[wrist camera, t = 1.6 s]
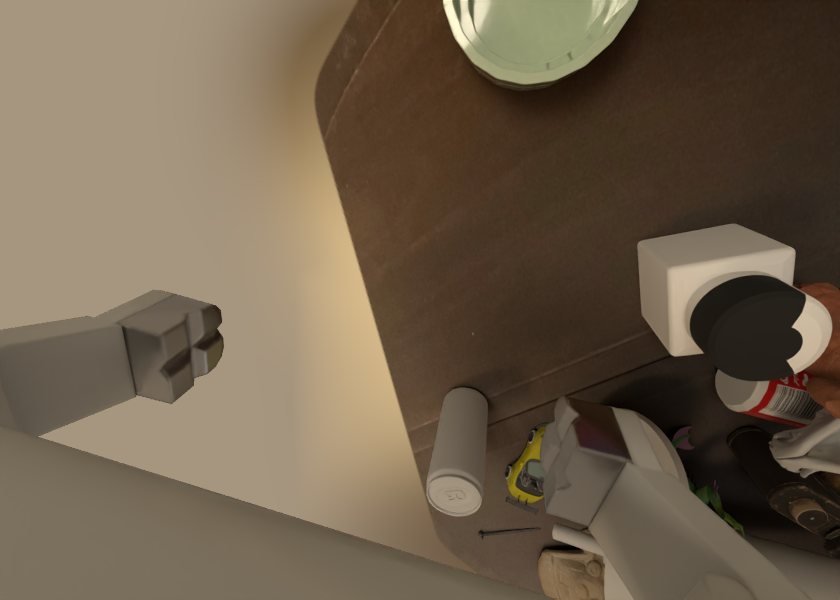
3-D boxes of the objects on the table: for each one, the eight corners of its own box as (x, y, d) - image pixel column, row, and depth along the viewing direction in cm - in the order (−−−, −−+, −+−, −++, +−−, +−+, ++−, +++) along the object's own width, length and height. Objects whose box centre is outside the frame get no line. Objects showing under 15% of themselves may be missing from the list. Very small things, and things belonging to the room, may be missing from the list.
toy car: (582, 436, 41) (587, 456, 38) (539, 496, 45) (541, 519, 42) (537, 417, 41) (540, 436, 38) (499, 479, 45) (498, 500, 42)
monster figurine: (686, 588, 28) (781, 574, 31) (679, 419, 30) (769, 421, 33) (574, 520, 39) (652, 514, 42) (574, 400, 41) (648, 403, 44)
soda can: (705, 370, 36) (841, 404, 35) (724, 422, 32) (878, 462, 31) (746, 332, 32) (901, 369, 31) (774, 386, 28) (952, 430, 27)
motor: (566, 537, 48) (543, 608, 39) (563, 463, 46) (539, 521, 38) (958, 671, 31) (1063, 843, 23) (979, 564, 29) (1102, 708, 21)
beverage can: (437, 389, 42) (415, 479, 31) (479, 379, 40) (471, 471, 30) (453, 422, 44) (437, 520, 33) (494, 415, 42) (491, 514, 31)
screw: (477, 528, 51) (480, 535, 51) (477, 534, 50) (479, 541, 50) (539, 522, 48) (541, 529, 48) (539, 527, 47) (541, 534, 47)
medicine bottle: (640, 315, 35) (702, 401, 24) (635, 240, 32) (702, 298, 21) (733, 302, 33) (846, 390, 22) (736, 221, 30) (866, 275, 19)
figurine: (760, 693, 37) (546, 654, 45) (734, 628, 43) (552, 604, 52) (731, 562, 37) (523, 547, 45) (710, 517, 43) (532, 511, 52)
